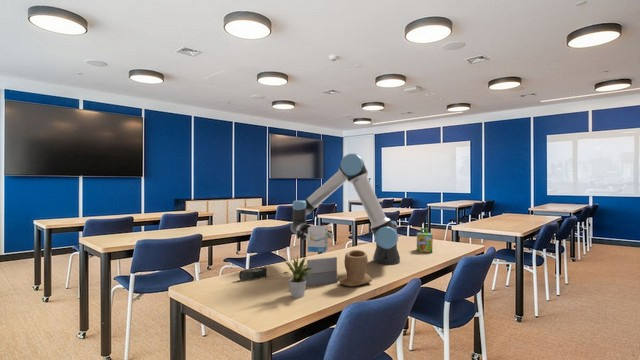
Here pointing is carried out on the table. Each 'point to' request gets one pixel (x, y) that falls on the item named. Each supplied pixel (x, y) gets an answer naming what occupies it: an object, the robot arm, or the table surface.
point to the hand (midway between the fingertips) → (321, 237)
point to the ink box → (318, 239)
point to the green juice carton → (424, 241)
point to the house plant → (297, 278)
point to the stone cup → (355, 269)
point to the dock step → (321, 271)
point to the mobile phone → (252, 274)
